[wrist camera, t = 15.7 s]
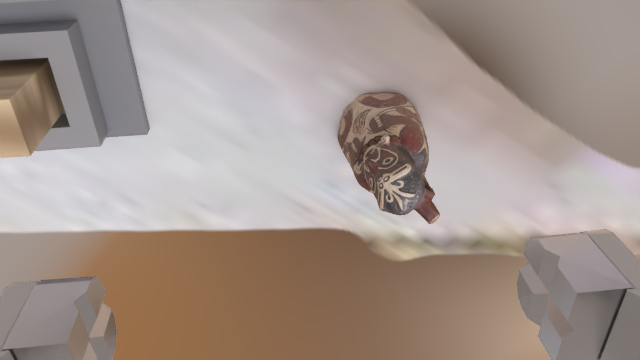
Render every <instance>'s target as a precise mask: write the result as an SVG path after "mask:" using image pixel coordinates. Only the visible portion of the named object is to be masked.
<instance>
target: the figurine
mask: <svg viewBox="0 0 640 360" xmlns="http://www.w3.org/2000/svg"><path fill="white" fill-rule="evenodd" d="M338 141H339V144H340V146H341V149H342V150H343V153H344V155H345V157H346V158H347V160H348V162H349V163H350V165H351V168H352V170H353V172H354V175H355V177H356V179H357V181H358V183H359V184H360V185H361V186H362V187H363V188H365V189H366V190H368V191H369V192H372V193H373V194H374V196H375V197H376V199H377V202H378V205H379V208H380V210H382V211H385V212H389V213H392V214H396V215H405V214H408V213H409V212H411V211H412V210H413V209H414V210H416V211H417V212H418V213H419V214H420V215H421V216H422V217H423V218H424V219H425V220H426V221H427V222H428V223H429V224H433V223H434V222H435V221H436V220H437V219H438V218H439V216H440V213H439V212H438V210H437V208H436V207H435V205H434V204H433V202H432V201H431V200H432V198H433V197H434V195H435V193H434V191H433V189H432V188H431V187H430V186H429V184H428V182H427V180H426V178H425V176H424V175H425V171H426V168H427V165H428V161H429V151H428V143H427V138H426V134H425V131H424V128H423V125H422V122H421V119H420V116H419V115H418V113H417V111H416V110H415V108H414V106H413V105H412V104H411V103H410V102H409V101H408V100H407V99H406V98H405V97H403V96H401V95H399V94H391V93H377V94H370V93H369V94H363V95H360V96H359V97H357V98H356V100H355V101H354V102H353V103H351V104H350V105H348V106H347V107H346V108H345V109H344V112H343V116H342V120H341V122H340V129H339V136H338Z"/></svg>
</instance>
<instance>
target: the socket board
mask: <svg viewBox="0 0 640 360" xmlns="http://www.w3.org/2000/svg"><path fill="white" fill-rule="evenodd" d="M32 58H48V59H49V62H50V66H51V69H52V72H53V75H54V78H55V81H56V84H57V88H58V91H59V94H60V97H61V100H62V103H63V106H64V109H65V110H64V111H63V113H62V114H61V115H60V117H59V118H58V119H57V121H56V122H55V123H54V125H53V126H52V128H51V129H50V130H49V132H48V133H47V134H46V136H45V137H44V138H43V140H42V141H41V142H40V144H39V145H38V146H37V148H36V149H35V150H34V151H43V150H57V149H70V148H84V147H98V146H101V145H102V143H103V141H104V139H105V137H118V136H132V135H146V134H148V131H149V125H148V120H147V116H146V112H145V107H144V103H143V99H142V94H141V90H140V86H139V81H138V77H137V72H136V68H135V64H134V59H133V55H132V51H131V46H130V42H129V38H128V33H127V29H126V24H125V20H124V16H123V11H122V7H121V3H120V0H0V60H16V59H32Z"/></svg>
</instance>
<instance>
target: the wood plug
mask: <svg viewBox="0 0 640 360" xmlns="http://www.w3.org/2000/svg"><path fill="white" fill-rule="evenodd" d="M64 110H65V109H64V106H63V103H62V100H61V97H60V94H59V91H58V88H57V84H56V81H55V78H54V75H53V72H52V69H51V66H50V62H49V59H48V58H32V59H16V60H0V158H6V157H20V156H31V154H32V153H33V152H34V150H35V149H36V148H37V146H38V145H39V144H40V142H41V141H42V140H43V138H44V137H45V136H46V134H47V133H48V132H49V130H50V129H51V128H52V126H53V125H54V123H55V122H56V121H57V119H58V118H59V117H60V115H61V114H62V113H63V111H64Z"/></svg>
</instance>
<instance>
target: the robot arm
mask: <svg viewBox="0 0 640 360" xmlns="http://www.w3.org/2000/svg"><path fill="white" fill-rule="evenodd" d="M523 254H524V255H525V257H526V258H527V260H528V263H527V264H526V265H525V266H524V267H523V268H522V269H521V270H520V271H519V276H518V281H517V289H518V298H519V300H520V303H521V307H522V309H523V311H524V312H525V314H526V316H527V318H528V319H530V320H531V321H533V322H535V323H536V324H538V325H539V326H540V330H539V334H538V337H539V339H540V341H541V342H542V344H543V346H544V347H545V349H546V351H547V352H548V354H549V356H550V357H551V359H552V360H640V261H639V260H638V259H637V258H636V257H635V255H634V254H633V253H632V252H631V251H630V250H629V249H628V248H627V247H626V246H625V245H624V244H623V242H622V241H621V240H620V239H619V238H618V237H617V236H616V235H615V234H614V233H613V232H611V231H609V230H607V229H603V230H594V231H585V232H580V233H570V234H560V235H550V236H539V237H530V238H529V240H528V241H527V243H526V245H525V249H524V253H523ZM105 293H106V291H105V289H104V286H103V284H102V281H101V279H100V278H97V277H81V278H68V279H52V280H41V281H30V282H15V283H12V284H10V285H9V286H7V287H6V288H5V289H4V291H3V292H2V294H1V296H0V360H112V359H113V355H114V350H115V347H116V331H117V330H116V323H115V318H114V315H113V312H112V309H110V308H109V307H108V306H106V305H104V304H103V303H102V302H103V299H104V296H105Z"/></svg>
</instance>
